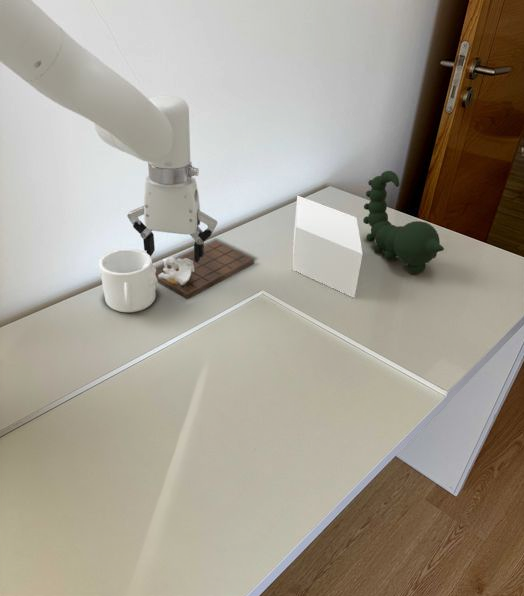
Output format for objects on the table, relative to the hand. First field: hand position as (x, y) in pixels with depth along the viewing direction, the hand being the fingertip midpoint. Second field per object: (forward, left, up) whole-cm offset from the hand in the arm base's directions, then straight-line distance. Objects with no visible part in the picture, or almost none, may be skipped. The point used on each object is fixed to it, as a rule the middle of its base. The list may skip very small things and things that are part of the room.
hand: (174, 256), depth 106 cm
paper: (+30, +14, -7) cm, 33 cm away
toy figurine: (+47, +20, -7) cm, 51 cm away
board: (+4, +6, -6) cm, 10 cm away
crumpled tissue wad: (0, 0, -5) cm, 5 cm away
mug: (-6, -9, -7) cm, 13 cm away
